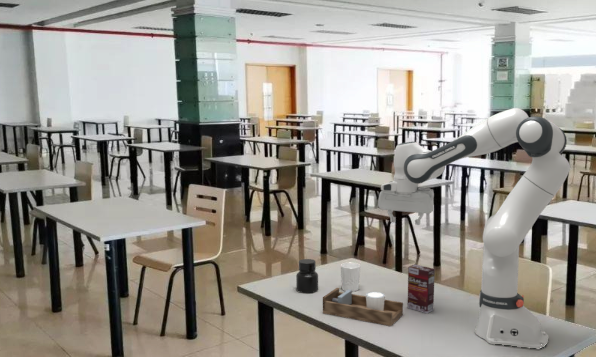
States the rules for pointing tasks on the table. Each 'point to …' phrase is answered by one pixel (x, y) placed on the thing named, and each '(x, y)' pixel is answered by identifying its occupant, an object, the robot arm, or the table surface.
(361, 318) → the wooden tray
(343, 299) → the pusher
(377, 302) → the white short cylinder
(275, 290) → the table surface
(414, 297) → the supplement box
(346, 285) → the white cup
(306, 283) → the ink bottle
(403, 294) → the table surface
